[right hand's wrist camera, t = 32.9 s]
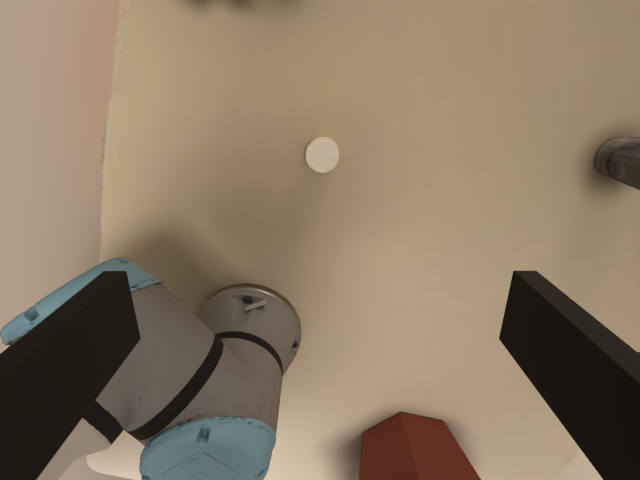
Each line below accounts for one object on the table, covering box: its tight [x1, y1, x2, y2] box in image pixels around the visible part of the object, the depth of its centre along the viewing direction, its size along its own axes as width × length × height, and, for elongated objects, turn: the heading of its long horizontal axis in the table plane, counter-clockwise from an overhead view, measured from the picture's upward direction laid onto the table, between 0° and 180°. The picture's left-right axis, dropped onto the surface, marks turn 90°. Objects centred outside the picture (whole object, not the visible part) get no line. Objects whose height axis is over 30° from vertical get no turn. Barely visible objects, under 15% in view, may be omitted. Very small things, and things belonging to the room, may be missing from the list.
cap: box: [305, 137, 339, 173], centre depth 44 cm, size 4×4×2 cm
